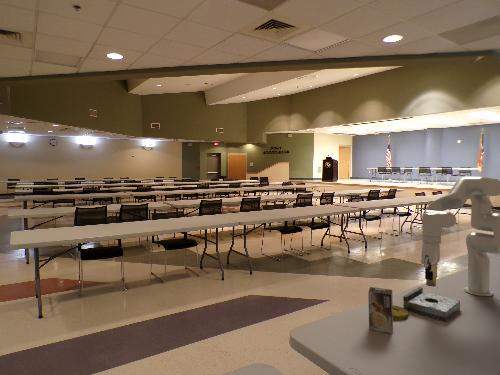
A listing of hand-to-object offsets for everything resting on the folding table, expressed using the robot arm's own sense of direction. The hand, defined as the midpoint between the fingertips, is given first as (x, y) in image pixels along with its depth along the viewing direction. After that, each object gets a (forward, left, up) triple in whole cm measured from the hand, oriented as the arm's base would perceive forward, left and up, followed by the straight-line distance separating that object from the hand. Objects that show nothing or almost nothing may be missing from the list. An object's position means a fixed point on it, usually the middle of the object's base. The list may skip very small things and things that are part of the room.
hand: (431, 278), depth 154 cm
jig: (0, 0, -15) cm, 15 cm away
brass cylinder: (0, 0, -3) cm, 3 cm away
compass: (+17, -10, -16) cm, 25 cm away
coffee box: (+34, -7, -15) cm, 38 cm away
